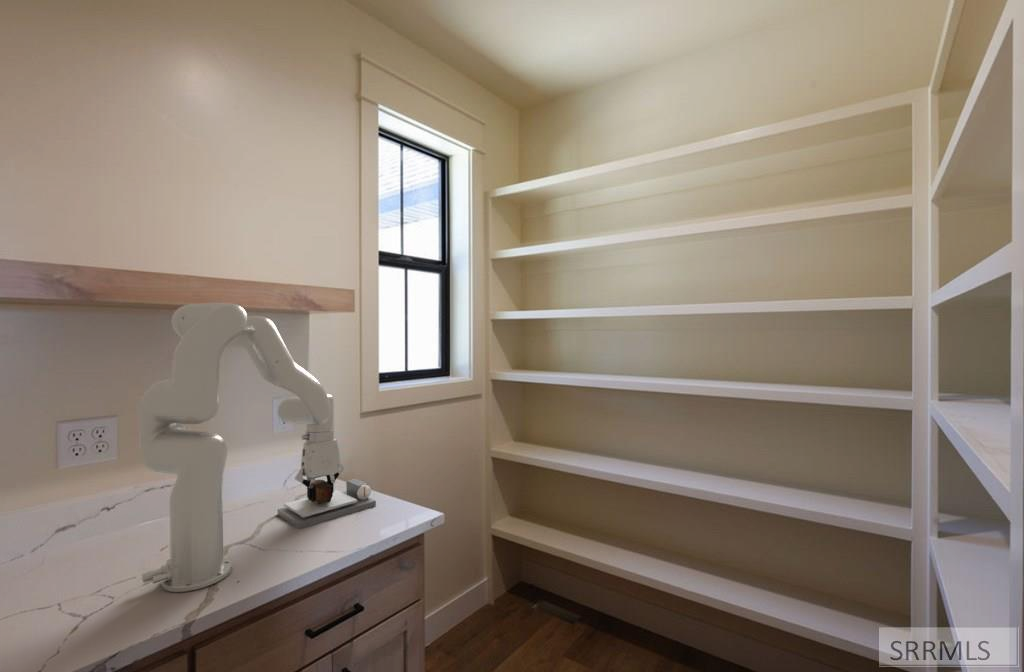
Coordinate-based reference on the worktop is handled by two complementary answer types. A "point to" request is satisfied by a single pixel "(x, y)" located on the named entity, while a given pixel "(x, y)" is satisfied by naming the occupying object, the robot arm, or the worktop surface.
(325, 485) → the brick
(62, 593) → the worktop surface
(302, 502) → the scale
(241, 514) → the worktop surface
